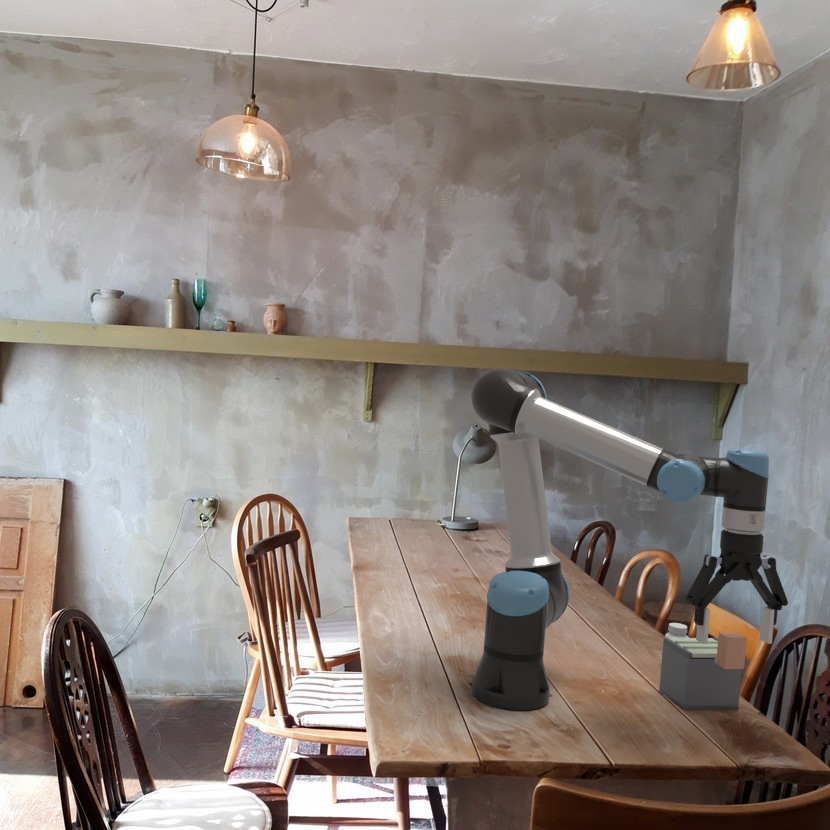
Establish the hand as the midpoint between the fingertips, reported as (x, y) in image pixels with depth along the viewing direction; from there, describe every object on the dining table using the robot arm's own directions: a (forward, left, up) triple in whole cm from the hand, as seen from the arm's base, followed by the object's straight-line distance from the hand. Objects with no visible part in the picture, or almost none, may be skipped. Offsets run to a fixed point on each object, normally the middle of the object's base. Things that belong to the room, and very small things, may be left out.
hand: (733, 641), depth 157 cm
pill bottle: (+5, +28, -15) cm, 32 cm away
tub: (0, +10, -15) cm, 18 cm away
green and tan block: (0, +7, -5) cm, 8 cm away
